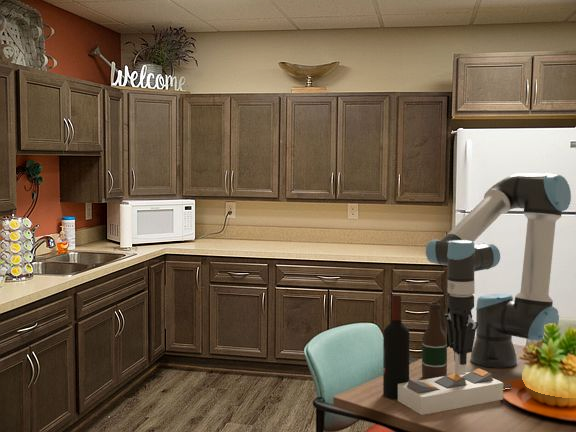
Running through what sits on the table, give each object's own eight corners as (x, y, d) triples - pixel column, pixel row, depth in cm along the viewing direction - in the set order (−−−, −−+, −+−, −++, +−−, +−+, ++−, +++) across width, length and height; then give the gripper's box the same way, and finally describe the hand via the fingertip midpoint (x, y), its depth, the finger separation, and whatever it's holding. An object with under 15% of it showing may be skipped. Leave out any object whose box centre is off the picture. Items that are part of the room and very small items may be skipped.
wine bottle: (392, 401, 194) (392, 299, 192) (378, 393, 201) (378, 294, 199) (414, 397, 197) (414, 296, 195) (399, 389, 204) (400, 291, 202)
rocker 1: (424, 390, 195) (426, 382, 195) (437, 396, 189) (439, 388, 189) (407, 386, 192) (409, 378, 192) (419, 393, 187) (421, 384, 187)
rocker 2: (453, 379, 199) (451, 371, 198) (466, 385, 193) (464, 377, 193) (436, 387, 196) (434, 380, 196) (449, 394, 191) (447, 386, 190)
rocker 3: (479, 374, 202) (477, 367, 202) (492, 380, 197) (491, 373, 196) (463, 383, 200) (461, 376, 200) (476, 389, 195) (474, 382, 194)
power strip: (496, 383, 209) (496, 367, 209) (524, 395, 198) (524, 378, 198) (397, 400, 195) (397, 383, 194) (421, 415, 184) (421, 397, 183)
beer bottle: (447, 381, 211) (447, 306, 209) (421, 380, 212) (422, 305, 210) (446, 373, 218) (447, 301, 216) (421, 372, 220) (422, 300, 218)
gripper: (436, 291, 198) (436, 369, 200) (464, 300, 186) (464, 383, 188) (457, 289, 201) (456, 366, 203) (486, 297, 189) (485, 379, 191)
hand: (460, 374), depth 196 cm, fingers closed
